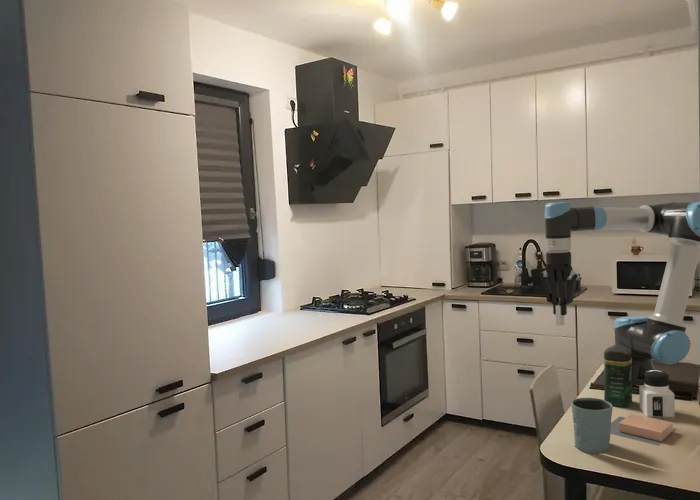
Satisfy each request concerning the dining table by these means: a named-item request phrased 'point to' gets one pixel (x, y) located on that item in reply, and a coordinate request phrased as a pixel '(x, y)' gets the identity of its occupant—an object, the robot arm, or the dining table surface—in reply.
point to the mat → (615, 431)
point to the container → (656, 395)
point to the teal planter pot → (592, 424)
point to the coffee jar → (618, 376)
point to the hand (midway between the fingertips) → (560, 324)
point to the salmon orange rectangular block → (646, 427)
